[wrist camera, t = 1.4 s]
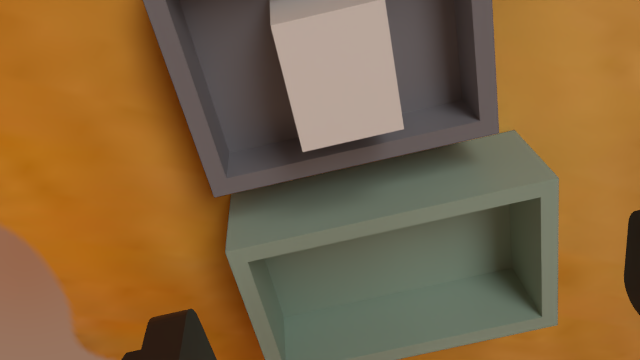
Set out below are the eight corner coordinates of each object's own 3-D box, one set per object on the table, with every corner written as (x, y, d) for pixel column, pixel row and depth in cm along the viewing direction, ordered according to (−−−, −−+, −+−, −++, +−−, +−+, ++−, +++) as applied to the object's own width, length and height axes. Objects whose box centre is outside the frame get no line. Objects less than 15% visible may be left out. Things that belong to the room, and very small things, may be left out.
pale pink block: (362, -27, 23) (385, -2, 19) (380, 84, 26) (404, 128, 22) (269, -5, 24) (270, 25, 19) (296, 103, 26) (302, 152, 22)
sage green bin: (514, 130, 29) (558, 177, 25) (519, 264, 33) (557, 325, 29) (231, 194, 29) (225, 252, 25) (273, 318, 34) (274, 385, 29)
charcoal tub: (456, -120, 23) (485, -117, 20) (473, 103, 28) (499, 133, 25) (148, -46, 23) (131, -32, 20) (219, 161, 28) (214, 197, 25)
